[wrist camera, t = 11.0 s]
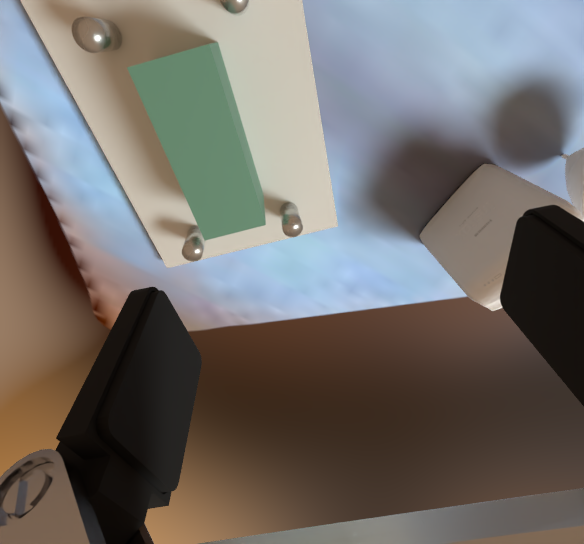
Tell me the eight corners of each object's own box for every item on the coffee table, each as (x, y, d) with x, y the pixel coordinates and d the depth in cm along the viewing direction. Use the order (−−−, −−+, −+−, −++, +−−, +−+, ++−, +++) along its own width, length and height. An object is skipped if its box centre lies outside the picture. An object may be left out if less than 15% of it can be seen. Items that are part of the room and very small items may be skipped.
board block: (217, 42, 24) (209, 43, 19) (263, 195, 31) (265, 224, 26) (151, 61, 24) (126, 67, 19) (211, 208, 31) (204, 240, 26)
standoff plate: (287, -74, 22) (295, -97, 18) (335, 220, 35) (345, 243, 31) (30, 1, 23) (-15, -6, 19) (169, 261, 35) (159, 289, 32)
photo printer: (484, 153, 32) (590, 207, 22) (511, 175, 34) (621, 235, 24) (410, 236, 37) (470, 312, 27) (437, 252, 38) (503, 329, 28)
